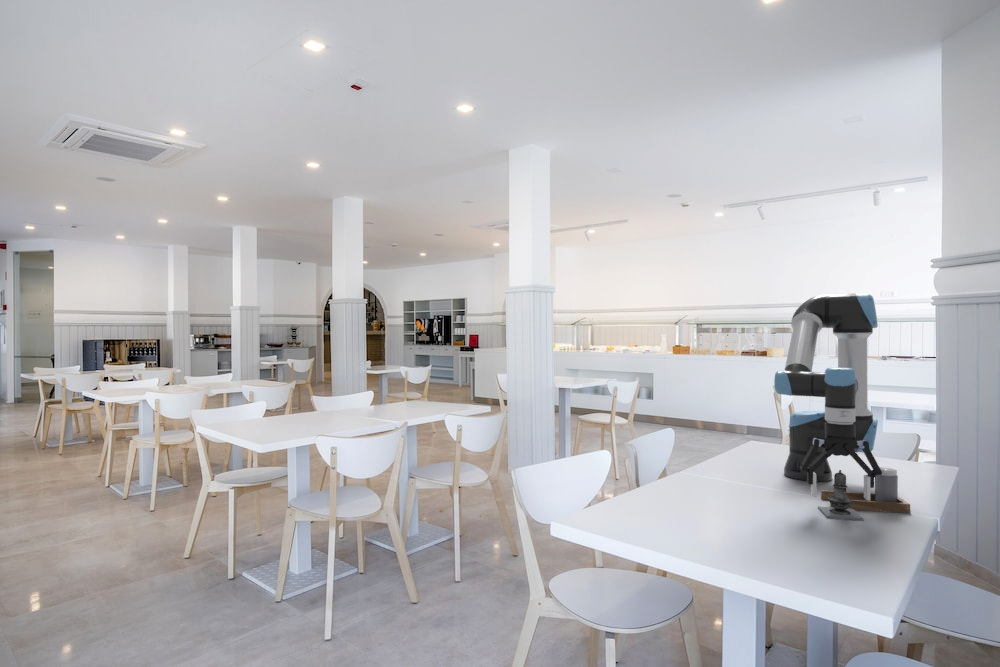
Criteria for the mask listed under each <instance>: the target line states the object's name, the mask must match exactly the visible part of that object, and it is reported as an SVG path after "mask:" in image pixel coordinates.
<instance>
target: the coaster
mask: <svg viewBox="0 0 1000 667" xmlns="http://www.w3.org/2000/svg"><path fill="white" fill-rule="evenodd" d="M832 508H834V507H830V506H822V505H821V506H820V505H818V506H817V509H818V510H819V511H820V512H821V513H822V514H823V515H824V516H825V517H826V518H827V519H839V520H852V521H864V520H865V518H864V517H863V516H862V514H860V513H858V511H857V510H854V509H851V508H848V509H846V510H848V511H849V512H851V514H850V515H840V514H835V513H832V512H830V511H829V510H830V509H832Z"/></svg>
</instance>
